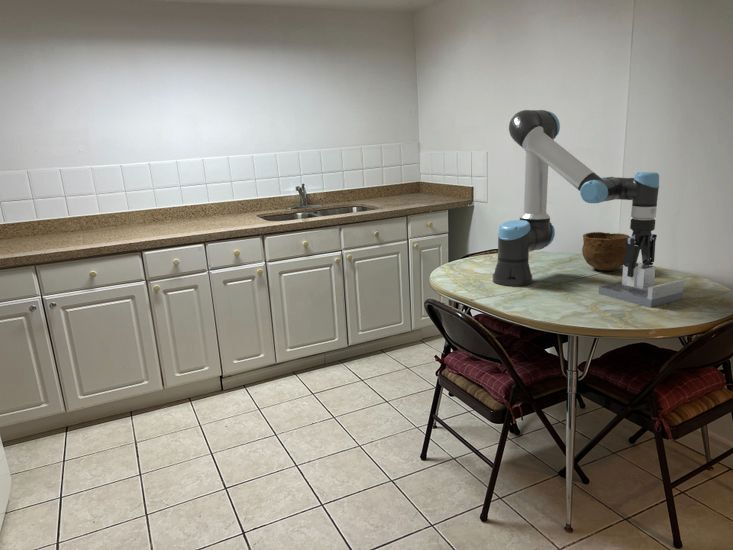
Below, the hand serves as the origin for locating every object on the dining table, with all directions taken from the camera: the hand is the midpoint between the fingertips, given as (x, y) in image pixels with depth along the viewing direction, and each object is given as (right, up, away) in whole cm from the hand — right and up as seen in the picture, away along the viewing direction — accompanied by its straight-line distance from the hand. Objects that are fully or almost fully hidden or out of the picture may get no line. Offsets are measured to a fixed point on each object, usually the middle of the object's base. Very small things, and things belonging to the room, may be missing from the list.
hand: (637, 284), depth 189 cm
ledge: (+1, -4, 0) cm, 4 cm away
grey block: (0, 0, 0) cm, 0 cm away
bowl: (+5, +5, +38) cm, 39 cm away
